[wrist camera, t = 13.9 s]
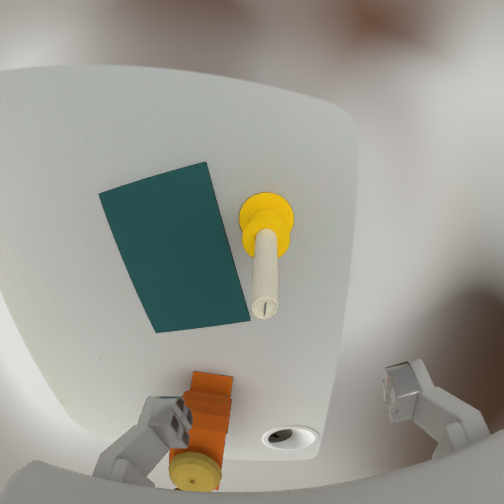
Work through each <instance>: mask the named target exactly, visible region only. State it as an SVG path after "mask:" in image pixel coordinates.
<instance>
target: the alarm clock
mask: <svg viewBox="0 0 504 504" xmlns="http://www.w3.org/2000/svg"><path fill="white" fill-rule="evenodd" d="M232 381H233V377H229V376H222V375H215V374H208V373H202V372H196V371H194V372H193V377H192V382H191V388H190V390H189V391H186V392H184V394H183V396H182V398H183V399H184V401H185V404H184V405H185V406H187V407H189V408H190V410H191V412H192V415H193V424H192V428H191V429H190V430H189V431H188V433H189V435H190V439H189V444H188V448H170V452H169V476H170V479H171V481H172V482H173V484H175V485H176V486H177V487H178V488H176V489H174V490H183V491H198V492H211V491H213V490H214V489H216V490H218V489H219V483H220V480H221V478H222V473H221V468H222V461H223V453H224V445H225V437H226V434H227V432H228V425H229V417H230V409H231V401H232V399H230V397H231V389H232Z"/></svg>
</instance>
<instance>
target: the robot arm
mask: <svg viewBox="0 0 504 504" xmlns="http://www.w3.org/2000/svg"><path fill="white" fill-rule="evenodd" d="M383 375H384V378H385V379H384V380H383V395H384V399H385V403H387V404H388V405H389V408H388V413H389V416H390V419H391V423H392V424H395V423H399V422H403V421H407V420H410V419H412V421H413V422H415V423H416V424H417V425H418V426H419V427H421V428H422V429H423V430H424V431H425V432H427V433H428V434H429V435H430V436H431V437H433V438H434V439H435V440H436V441H437V442H439V443H438V445H437V447H436V449H435V452H434V453H433V455H432V460H429V461H426V462H423V463H420V464H417V465H413V466H410V467H407V468H403V469H400V470H396V471H393V472H389V473H385V474H381V475H377V476H373V477H368V478H364V479H359V480H354V481H349V482H344V483H338V484H332V485H326V486H319V487H311V488H303V489H294V490H282V491H268V492H241V493H240V492H238V493H237V492H234V493H233V492H231V493H230V492H229V493H228V492H198V491H183V490H171V489H163V488H154V487H155V485H154V483H153V482H152V481H151V480H149V479H148V478H147V477H146V476H147V475H148V474H149V473H150V472H151V471H152V470H153V468H154V467H155V466H156V465H157V464H158V462H159V461H160V460H161V459H162V458H163V457H164V455H165V454H166V453H167V452H168V451H169V450H170V449H169V448H188V444H189V439H190V435H189V433H188V431H189V430H190V429H191V428H192V424H193V415H192V412H191V410H190V408H189V407H187V406H185V405H184V404H185V401H184V399H183V398H182V397H148V398H147V399H146V401H145V404H144V407H143V410H142V413H141V415H140V418H139V421H138V424H137V425H134V426H133V427H132V428H131V429H129V430H128V431H127V432H126V433H125V434H124V435H122V436H121V437H120V438H119V439H118V440H117V441H115V442H114V443H113V444H112V445H111V446H110V447H108V448H107V449H106V450H105V451H104V452H102V453H101V455H100V457H99V459H98V461H97V464H96V467H95V470H94V472H93V475H92V476H90V475H86V474H82V473H78V472H74V471H71V470H67V469H64V468H60V467H57V466H53V465H51V464H48V463H45V462H41V461H37V460H35V461H32V462H30V463H28V464H27V465H26V466H24V467H22V468H21V469H19V470H18V471H16V472H15V473H14V474H13V475H12V476H11V477H10V479H9V480H8V482H7V483H6V485H5V487H4V489H3V491H2V493H1V495H0V504H504V429H502V430H500V431H498V432H496V433H494V434H492V435H491V434H490V432H489V430H488V428H487V426H486V423H485V421H484V419H483V417H482V415H481V412H480V411H479V410H477V409H475V408H473V407H472V406H470V405H468V404H466V403H465V402H463V401H462V400H459V399H458V398H456V397H454V396H453V395H451V394H449V393H448V392H446V391H445V390H443V389H441V388H439V387H434V385H433V383H432V381H431V378H430V376H429V374H428V372H427V370H426V368H425V366H424V363H423V362H422V360H421V359H420V358H419V359H415V360H412V361H409V362H404V363H400V364H397V365H393V366H389V367H386V368H384V372H383Z"/></svg>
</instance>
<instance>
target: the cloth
mask: <svg viewBox="0 0 504 504" xmlns="http://www.w3.org/2000/svg"><path fill="white" fill-rule="evenodd" d="M99 197H100V200H101V203H102V206H103V209H104V211H105V214H106V217H107V220H108V223H109V225H110V228H111V231H112V233H113V236H114V239H115V241H116V244H117V246H118V249H119V251H120V254H121V256H122V259H123V261H124V264H125V266H126V268H127V271H128V273H129V275H130V278H131V280H132V282H133V285H134V287H135V289H136V292H137V294H138V296H139V298H140V300H141V303H142V305H143V307H144V309H145V311H146V313H147V316H148V318H149V320H150V322H151V324H152V326H153V328H154V330H155V332H156V333H160V332H169V331H178V330H186V329H195V328H203V327H210V326H218V325H225V324H232V323H239V322H246V321H250V316H249V312H248V309H247V305H246V302H245V299H244V295H243V292H242V288H241V285H240V282H239V278H238V275H237V271H236V268H235V264H234V261H233V257H232V254H231V250H230V247H229V243H228V240H227V236H226V233H225V229H224V225H223V222H222V218H221V215H220V211H219V208H218V204H217V200H216V197H215V193H214V189H213V186H212V182H211V179H210V175H209V171H208V167H207V164H206V162H203V163H199V164H195V165H191V166H188V167H184V168H180V169H177V170H173V171H170V172H166V173H163V174H159V175H156V176H153V177H149V178H146V179H143V180H140V181H136V182H133V183H130V184H127V185H124V186H121V187H118V188H115V189H112V190H109V191H106V192H103V193H100V194H99Z"/></svg>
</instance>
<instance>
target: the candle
mask: <svg viewBox="0 0 504 504" xmlns="http://www.w3.org/2000/svg"><path fill="white" fill-rule="evenodd" d="M293 223H294V215H293V211H292V208H291V206H290V205H289V203H288V202H287V201H286V200H285V199H284V198H283V197H281V196H279V195H277V194H274V193H270V192H262V193H258V194H255V195H253V196H252V197H250V198H249V199H248V200H247V201H246V202H245V203H244V204H243V206H242V208H241V210H240V215H239V224H240V227H241V230H242V231H243V235H242V243H243V246H244V249H245V250H246V252H247V253H248V254H249V255H250V256H251V257H253V258H254V267H253V280H252V293H251V312H252V314H253V316H254V317H256V318H257V319H260V320H266V319H269V318H271V317H273V316H274V315H275V314H276V312H277V309H278V297H279V282H278V258H279V257H281V256H282V255H283V254H284V253H285V252H286V251H287V249H288V247H289V243H290V235H289V233H290V231H291V230H292V227H293Z"/></svg>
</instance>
